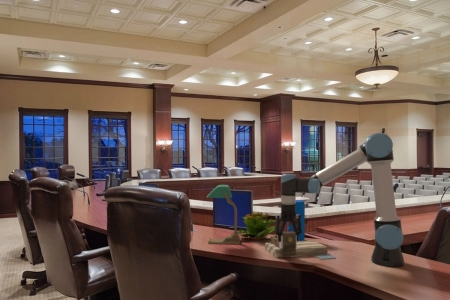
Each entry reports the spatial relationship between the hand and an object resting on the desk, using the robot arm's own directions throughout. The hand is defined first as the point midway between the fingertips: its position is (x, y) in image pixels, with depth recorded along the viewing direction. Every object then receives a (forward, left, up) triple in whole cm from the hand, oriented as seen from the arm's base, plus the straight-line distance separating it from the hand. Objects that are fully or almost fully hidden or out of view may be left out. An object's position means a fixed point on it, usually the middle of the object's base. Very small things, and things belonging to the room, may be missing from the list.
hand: (287, 247), depth 185 cm
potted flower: (+48, 0, -6) cm, 49 cm away
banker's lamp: (+41, +25, -6) cm, 49 cm away
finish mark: (-2, -20, -6) cm, 21 cm away
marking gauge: (+7, 0, -4) cm, 8 cm away
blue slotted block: (+37, -22, -6) cm, 44 cm away
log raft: (+10, -9, -6) cm, 15 cm away
